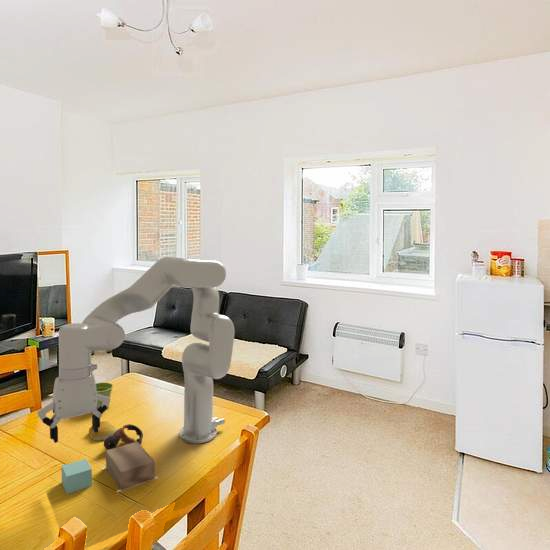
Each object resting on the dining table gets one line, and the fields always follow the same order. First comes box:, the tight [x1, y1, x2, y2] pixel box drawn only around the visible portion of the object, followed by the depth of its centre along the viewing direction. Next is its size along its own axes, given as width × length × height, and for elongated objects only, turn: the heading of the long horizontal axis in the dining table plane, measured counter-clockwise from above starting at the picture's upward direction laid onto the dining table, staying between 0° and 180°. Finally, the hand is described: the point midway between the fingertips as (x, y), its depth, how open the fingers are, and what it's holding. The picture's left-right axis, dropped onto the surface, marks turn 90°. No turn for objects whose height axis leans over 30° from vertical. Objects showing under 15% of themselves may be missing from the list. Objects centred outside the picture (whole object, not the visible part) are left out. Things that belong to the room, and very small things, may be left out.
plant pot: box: [95, 382, 114, 411], centre depth 157 cm, size 9×9×9 cm
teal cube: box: [61, 458, 93, 495], centre depth 109 cm, size 6×6×6 cm
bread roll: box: [88, 420, 117, 441], centre depth 138 cm, size 8×9×4 cm
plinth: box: [105, 441, 156, 491], centre depth 114 cm, size 9×13×5 cm
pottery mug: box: [103, 423, 144, 450], centre depth 128 cm, size 12×10×8 cm
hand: (75, 435), depth 108 cm, fingers open, 9 cm apart
